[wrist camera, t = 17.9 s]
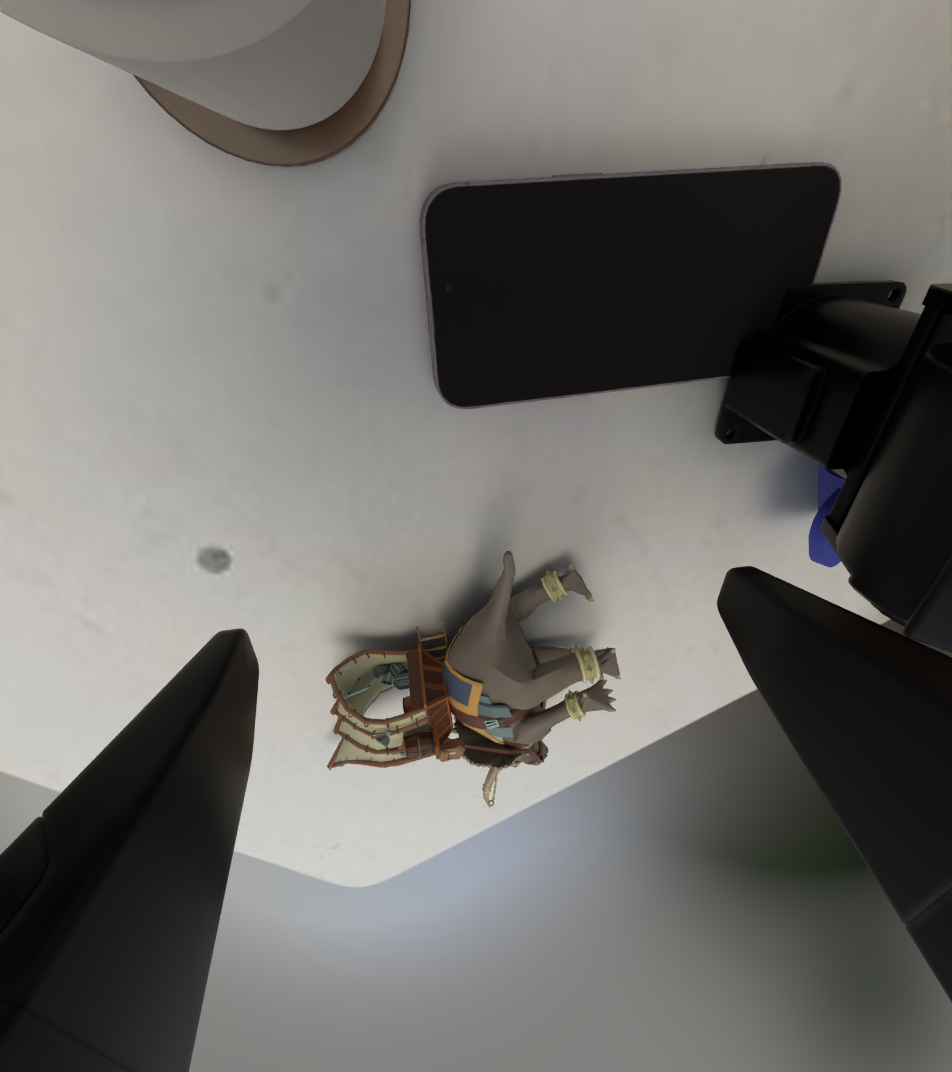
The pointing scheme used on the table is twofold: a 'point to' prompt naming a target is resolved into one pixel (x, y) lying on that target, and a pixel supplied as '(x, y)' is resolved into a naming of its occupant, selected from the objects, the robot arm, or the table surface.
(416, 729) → the figurine
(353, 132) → the coaster
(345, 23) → the beverage can
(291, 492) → the table surface
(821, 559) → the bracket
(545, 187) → the smartphone
